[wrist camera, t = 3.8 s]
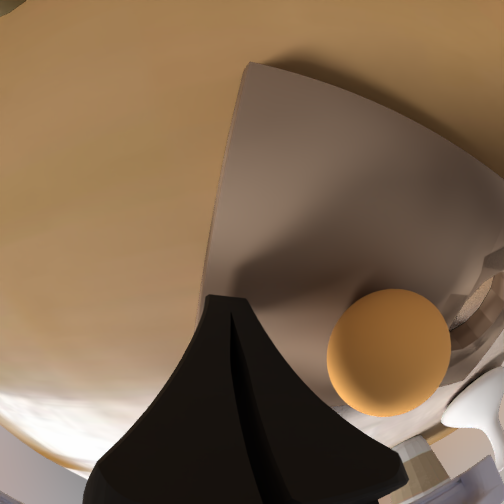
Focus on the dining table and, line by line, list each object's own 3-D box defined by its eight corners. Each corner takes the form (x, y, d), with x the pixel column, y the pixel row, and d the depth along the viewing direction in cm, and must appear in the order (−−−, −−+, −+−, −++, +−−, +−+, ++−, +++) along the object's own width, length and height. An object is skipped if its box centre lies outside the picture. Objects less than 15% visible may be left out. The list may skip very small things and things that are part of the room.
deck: (454, 365, 20) (463, 380, 19) (188, 378, 16) (187, 406, 14) (539, 216, 13) (555, 227, 11) (243, 70, 8) (249, 61, 7)
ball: (382, 349, 13) (421, 425, 9) (296, 350, 12) (324, 448, 8) (429, 270, 11) (495, 345, 7) (338, 255, 10) (406, 361, 6)
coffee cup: (366, 467, 35) (387, 533, 22) (378, 448, 30) (406, 531, 17) (421, 443, 35) (446, 504, 22) (442, 418, 30) (476, 491, 17)
